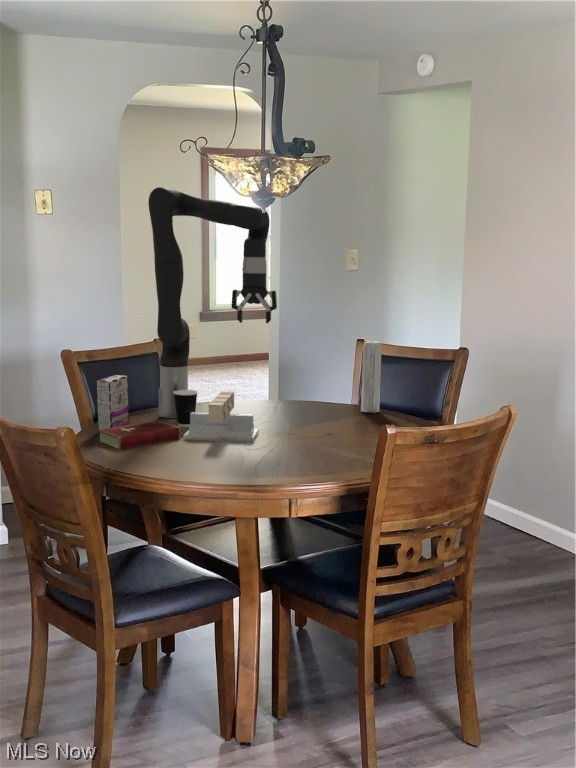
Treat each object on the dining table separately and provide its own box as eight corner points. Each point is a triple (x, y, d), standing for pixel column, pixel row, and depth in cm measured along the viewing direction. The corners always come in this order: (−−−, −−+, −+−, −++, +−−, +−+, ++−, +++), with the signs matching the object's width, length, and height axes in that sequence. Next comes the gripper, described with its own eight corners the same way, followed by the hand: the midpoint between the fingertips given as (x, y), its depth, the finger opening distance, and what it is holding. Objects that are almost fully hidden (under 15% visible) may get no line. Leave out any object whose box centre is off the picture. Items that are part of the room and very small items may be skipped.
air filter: (382, 411, 297) (384, 341, 293) (374, 414, 292) (376, 343, 288) (365, 409, 301) (368, 340, 296) (357, 412, 295) (359, 341, 291)
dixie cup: (192, 429, 265) (192, 394, 264) (169, 427, 268) (168, 393, 266) (201, 424, 273) (201, 390, 271) (179, 422, 275) (179, 389, 273)
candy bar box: (115, 425, 269) (114, 374, 267) (129, 426, 268) (128, 375, 265) (97, 432, 259) (95, 379, 256) (111, 433, 257) (110, 381, 255)
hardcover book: (180, 440, 253) (180, 426, 252) (119, 451, 239) (119, 436, 238) (158, 432, 262) (158, 419, 261) (98, 443, 248) (97, 429, 247)
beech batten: (221, 406, 266) (221, 391, 265) (234, 407, 266) (234, 391, 265) (208, 421, 245) (208, 404, 244) (222, 422, 244) (222, 405, 243)
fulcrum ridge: (183, 439, 251) (183, 416, 250) (191, 430, 263) (191, 408, 262) (253, 442, 249) (253, 419, 248) (258, 433, 261) (258, 411, 260)
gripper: (278, 271, 269) (277, 322, 272) (234, 270, 270) (233, 321, 273) (275, 272, 261) (274, 324, 264) (230, 271, 263) (230, 323, 266)
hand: (254, 322), depth 269 cm, fingers open, 8 cm apart
